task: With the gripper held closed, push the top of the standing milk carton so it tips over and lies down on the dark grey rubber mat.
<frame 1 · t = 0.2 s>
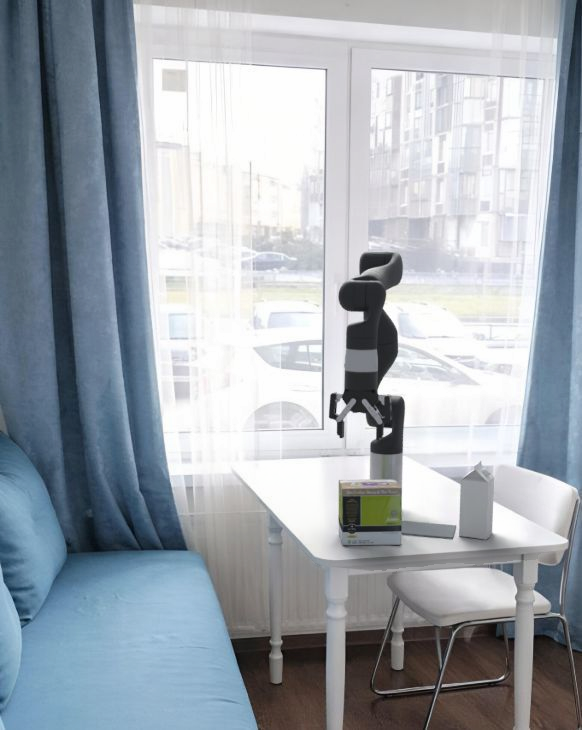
hand: (359, 438, 190), 29 cm above the table, tool pointing down, fingers open, 8 cm apart
tea box: (368, 540, 210), on the table
mat: (417, 529, 219), on the table
milk carton: (475, 535, 215), on the table
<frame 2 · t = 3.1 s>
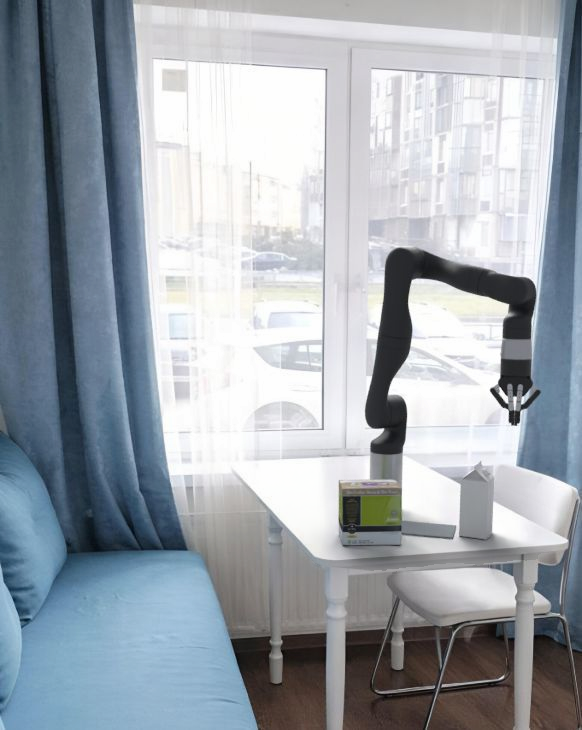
hand: (514, 425, 209), 29 cm above the table, tool pointing down, fingers closed
nothing on the table moved.
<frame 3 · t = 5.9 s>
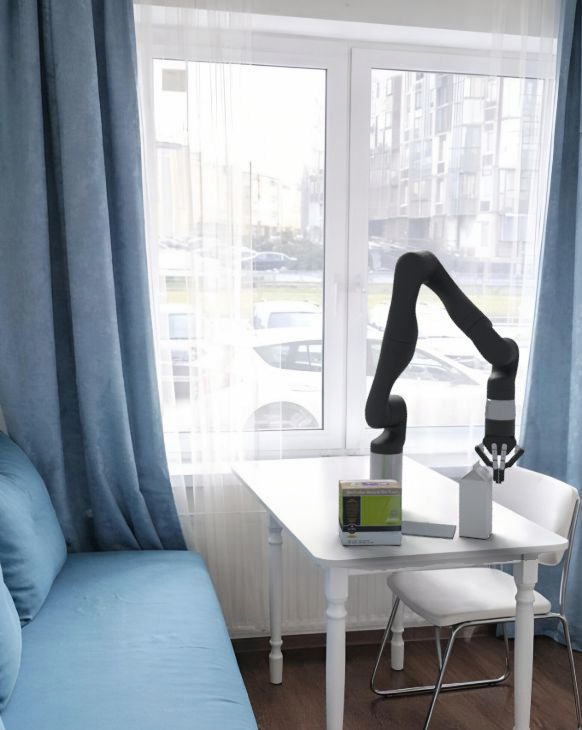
hand: (498, 482, 212), 14 cm above the table, tool pointing down, fingers closed
milk carton: (475, 535, 215), on the table, touching gripper
everything else where it was.
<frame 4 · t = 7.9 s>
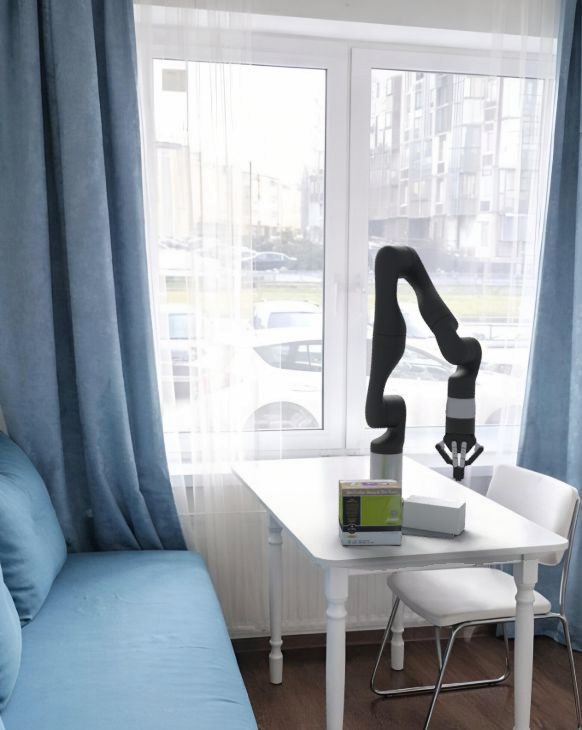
hand: (458, 480, 215), 14 cm above the table, tool pointing down, fingers closed
milk carton: (463, 518, 216), point 4 cm above the table, touching mat
everything else where it was.
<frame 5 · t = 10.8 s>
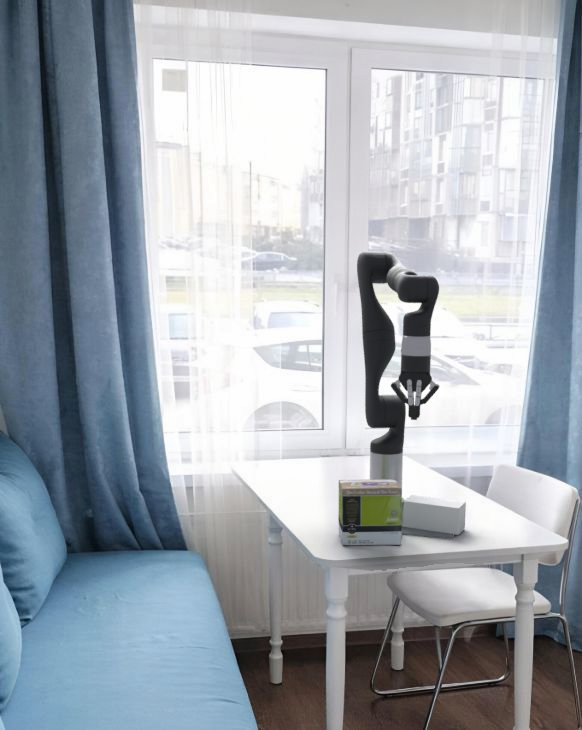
hand: (413, 419, 215), 30 cm above the table, tool pointing down, fingers closed
nothing on the table moved.
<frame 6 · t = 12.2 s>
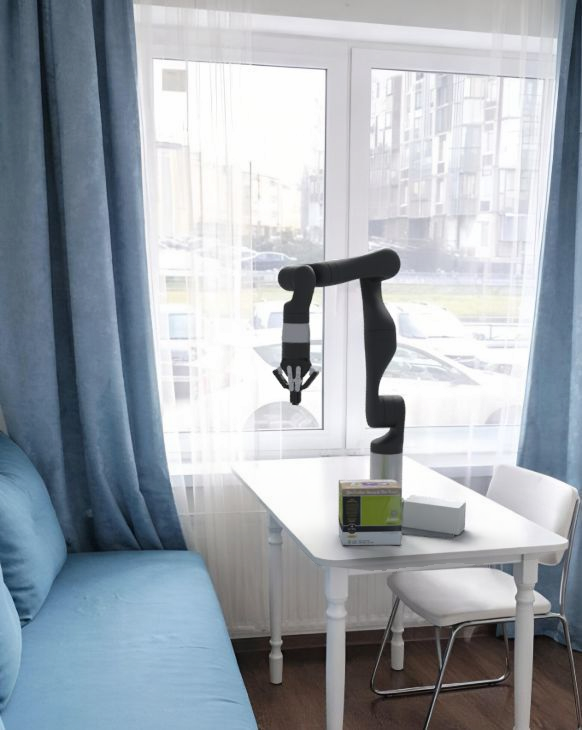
hand: (295, 404, 221), 32 cm above the table, tool pointing down, fingers closed
nothing on the table moved.
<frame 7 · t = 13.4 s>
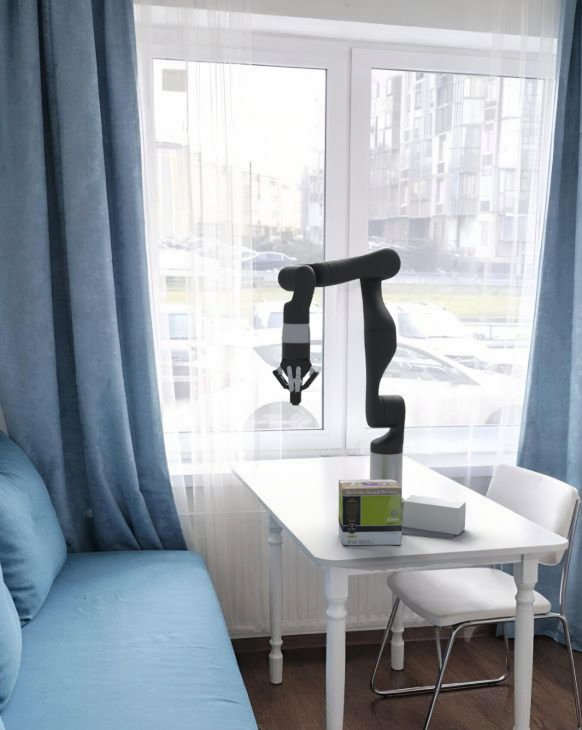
hand: (295, 405, 221), 32 cm above the table, tool pointing down, fingers closed
nothing on the table moved.
at the end: milk carton tilted 90°; milk carton inside the target area (1.6 cm from its centre), point 3.9 cm above the table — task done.
